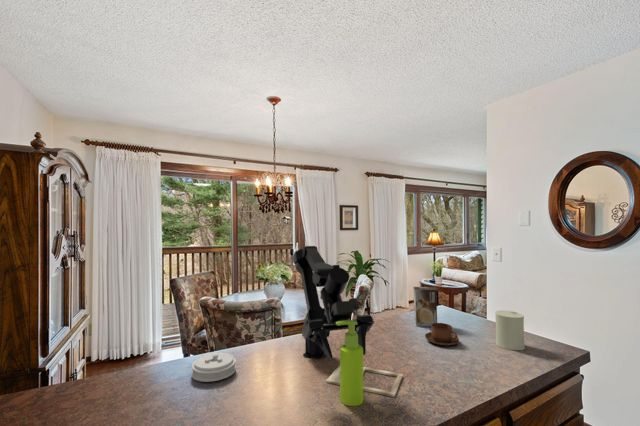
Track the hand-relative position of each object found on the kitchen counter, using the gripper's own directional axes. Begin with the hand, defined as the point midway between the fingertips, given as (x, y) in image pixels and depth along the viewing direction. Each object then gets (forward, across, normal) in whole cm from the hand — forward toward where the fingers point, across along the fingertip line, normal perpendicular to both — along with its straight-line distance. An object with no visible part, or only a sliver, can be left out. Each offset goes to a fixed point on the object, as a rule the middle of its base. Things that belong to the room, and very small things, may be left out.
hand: (348, 356), depth 83 cm
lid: (-10, -33, +25) cm, 43 cm away
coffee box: (-24, +56, +39) cm, 72 cm away
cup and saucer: (-10, +49, +25) cm, 56 cm away
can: (-3, +70, +18) cm, 72 cm away
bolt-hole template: (+2, +8, +13) cm, 15 cm away
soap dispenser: (+8, 0, +7) cm, 11 cm away
